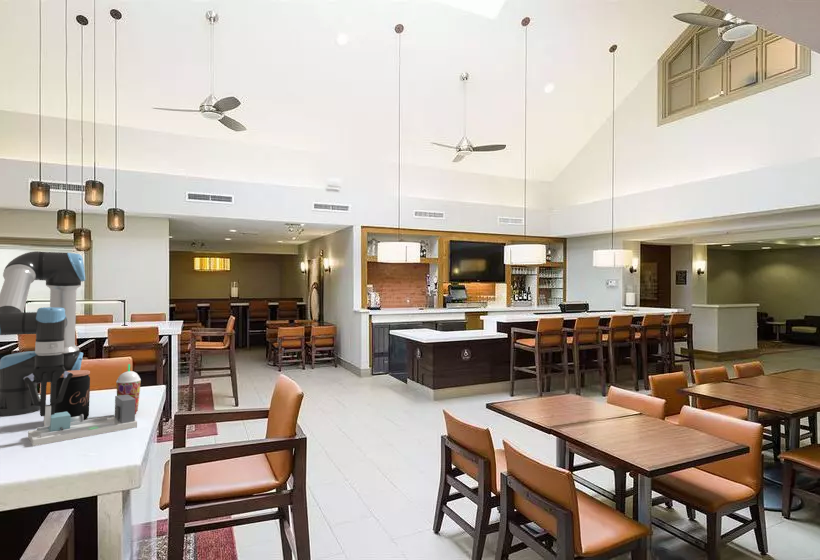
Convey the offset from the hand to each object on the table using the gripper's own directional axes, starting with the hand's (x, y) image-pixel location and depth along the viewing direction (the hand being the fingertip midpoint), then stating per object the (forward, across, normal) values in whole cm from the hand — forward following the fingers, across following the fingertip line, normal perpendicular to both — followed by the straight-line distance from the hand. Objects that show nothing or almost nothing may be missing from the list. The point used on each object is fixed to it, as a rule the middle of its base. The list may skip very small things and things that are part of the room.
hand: (47, 425), depth 149 cm
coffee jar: (+5, +10, +20) cm, 23 cm away
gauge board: (+4, +10, 0) cm, 11 cm away
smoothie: (+5, +27, +14) cm, 31 cm away
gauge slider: (+2, +5, -1) cm, 6 cm away
